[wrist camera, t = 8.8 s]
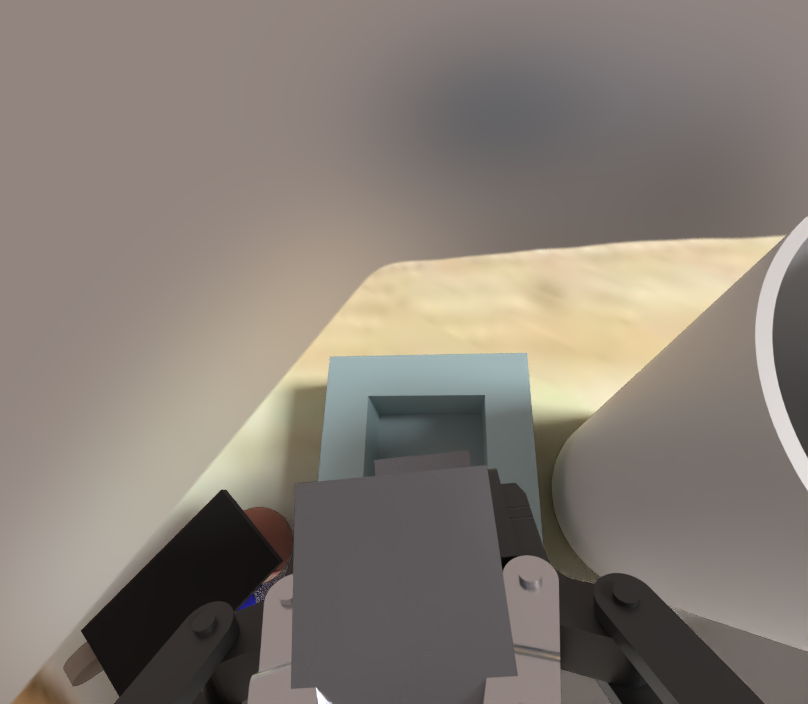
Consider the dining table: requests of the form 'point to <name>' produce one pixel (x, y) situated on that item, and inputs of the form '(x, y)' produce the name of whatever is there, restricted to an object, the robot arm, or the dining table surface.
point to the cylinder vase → (708, 461)
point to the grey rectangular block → (399, 585)
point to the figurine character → (183, 587)
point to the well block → (431, 414)
